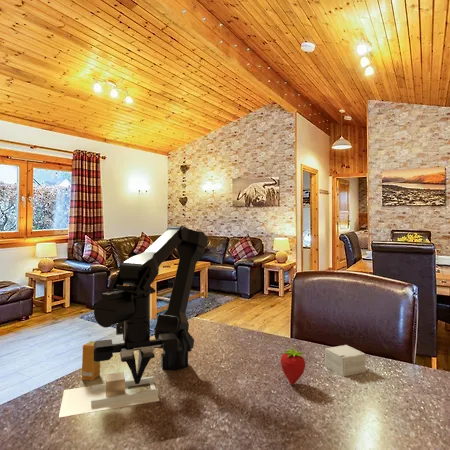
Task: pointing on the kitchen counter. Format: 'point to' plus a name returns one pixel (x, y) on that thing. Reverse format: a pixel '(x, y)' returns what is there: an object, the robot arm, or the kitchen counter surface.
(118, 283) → the robot arm
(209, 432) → the kitchen counter surface
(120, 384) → the wooden block
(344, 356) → the small box
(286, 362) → the strawberry
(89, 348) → the supplement box
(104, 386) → the trough
